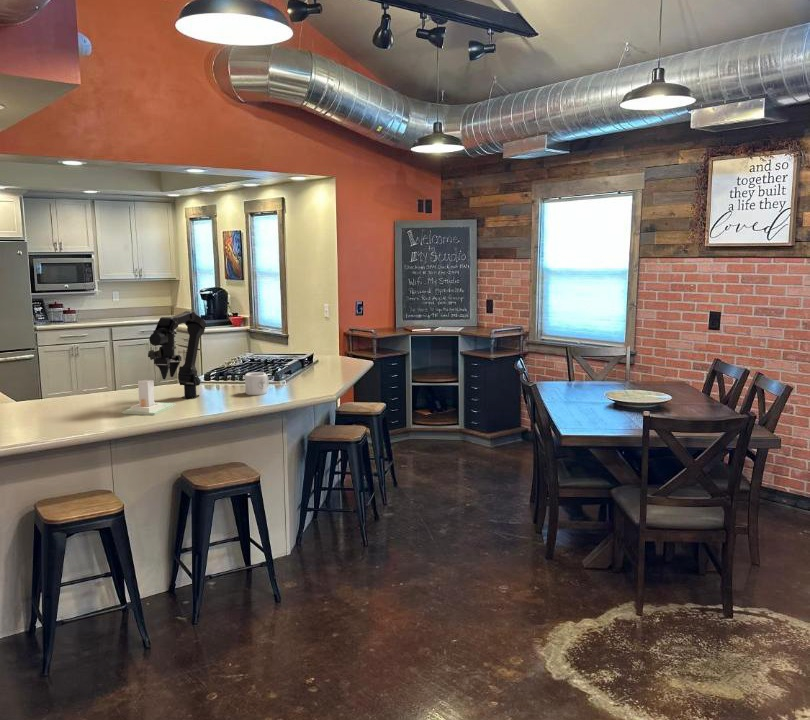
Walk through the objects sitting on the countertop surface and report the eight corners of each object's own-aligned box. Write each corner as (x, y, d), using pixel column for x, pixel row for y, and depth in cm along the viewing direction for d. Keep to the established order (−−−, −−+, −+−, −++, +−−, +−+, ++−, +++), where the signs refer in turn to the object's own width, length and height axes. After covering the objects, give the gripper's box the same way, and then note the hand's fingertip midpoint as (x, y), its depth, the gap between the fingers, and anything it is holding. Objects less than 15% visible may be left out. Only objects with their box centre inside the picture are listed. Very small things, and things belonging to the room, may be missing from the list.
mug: (255, 396, 340) (254, 376, 338) (240, 393, 346) (240, 374, 344) (275, 392, 350) (275, 373, 349) (261, 389, 357) (261, 370, 355)
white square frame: (145, 406, 311) (145, 401, 310) (162, 407, 308) (162, 403, 308) (131, 410, 302) (130, 406, 301) (149, 412, 299) (148, 407, 299)
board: (144, 404, 320) (144, 402, 320) (175, 405, 318) (175, 403, 318) (122, 413, 300) (122, 411, 300) (154, 415, 298) (154, 412, 298)
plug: (145, 407, 307) (144, 379, 305) (154, 408, 306) (153, 380, 304) (138, 410, 303) (136, 381, 301) (147, 411, 301) (146, 382, 299)
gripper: (158, 342, 324) (158, 375, 325) (142, 345, 305) (142, 380, 307) (181, 343, 324) (181, 376, 325) (166, 346, 305) (166, 380, 306)
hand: (168, 378), depth 316 cm, fingers open, 9 cm apart
